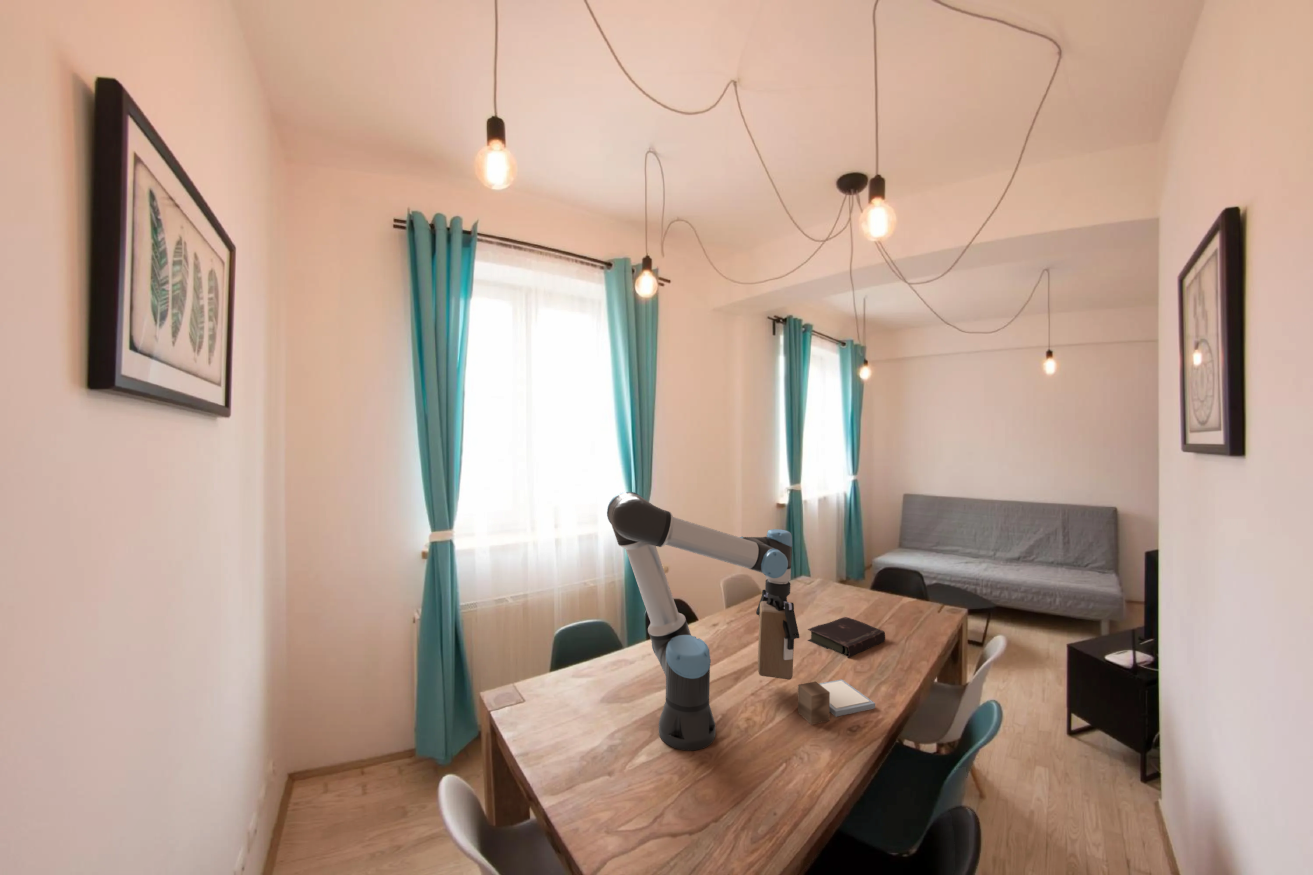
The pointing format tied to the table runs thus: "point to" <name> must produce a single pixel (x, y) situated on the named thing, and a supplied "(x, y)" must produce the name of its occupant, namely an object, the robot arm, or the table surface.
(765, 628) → the block
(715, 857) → the table surface
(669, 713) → the robot arm
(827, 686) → the board
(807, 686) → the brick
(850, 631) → the diary
